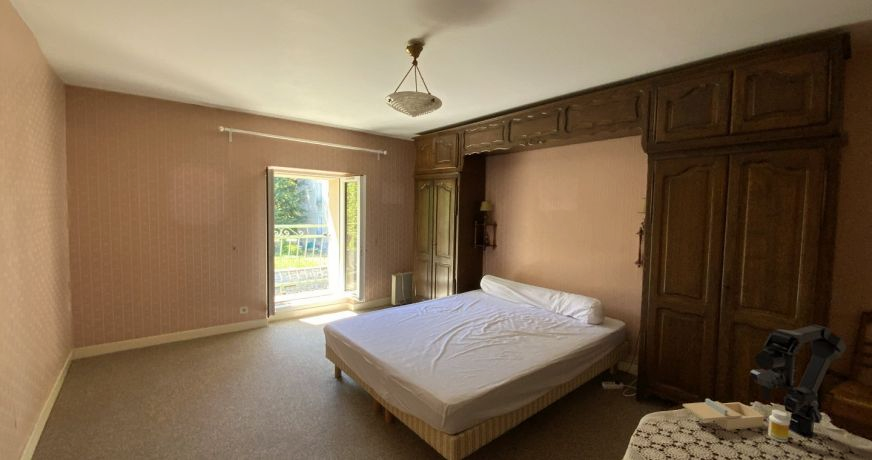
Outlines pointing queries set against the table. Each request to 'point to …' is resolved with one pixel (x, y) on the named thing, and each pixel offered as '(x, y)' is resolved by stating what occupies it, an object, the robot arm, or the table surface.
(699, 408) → the lid
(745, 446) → the table surface
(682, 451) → the table surface
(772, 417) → the supplement bottle
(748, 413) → the wooden box
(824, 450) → the table surface
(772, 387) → the robot arm
